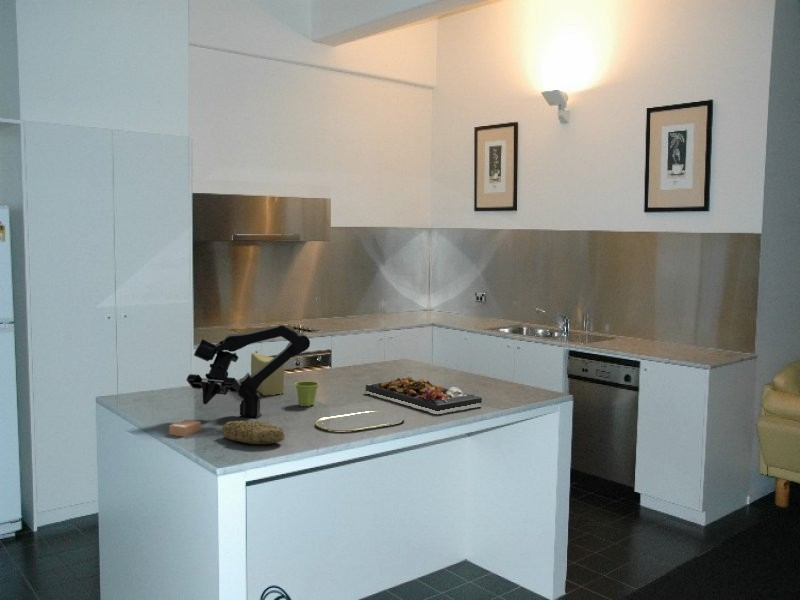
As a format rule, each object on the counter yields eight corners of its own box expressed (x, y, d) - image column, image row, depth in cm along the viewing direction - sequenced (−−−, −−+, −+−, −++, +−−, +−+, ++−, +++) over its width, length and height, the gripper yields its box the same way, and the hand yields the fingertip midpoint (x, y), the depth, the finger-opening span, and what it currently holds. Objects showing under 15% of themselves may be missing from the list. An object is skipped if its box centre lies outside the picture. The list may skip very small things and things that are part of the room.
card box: (186, 419, 251) (169, 425, 243) (201, 421, 249) (184, 427, 241) (185, 428, 252) (169, 434, 243) (200, 430, 250) (184, 436, 241)
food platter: (481, 408, 300) (482, 383, 299) (437, 416, 284) (437, 390, 283) (408, 388, 334) (409, 366, 333) (365, 395, 318) (366, 371, 317)
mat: (165, 429, 251) (165, 427, 251) (198, 424, 259) (198, 422, 259) (185, 440, 239) (185, 438, 239) (219, 434, 247) (219, 433, 247)
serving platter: (305, 424, 265) (306, 420, 265) (385, 413, 286) (385, 409, 286) (333, 437, 250) (333, 432, 250) (415, 424, 271) (415, 419, 271)
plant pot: (300, 408, 287) (301, 386, 286) (290, 403, 294) (290, 382, 294) (322, 406, 292) (322, 384, 291) (311, 401, 300) (312, 380, 299)
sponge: (217, 445, 240) (259, 444, 228) (218, 420, 241) (259, 418, 229) (249, 444, 250) (290, 443, 238) (249, 421, 251) (290, 419, 239)
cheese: (241, 386, 324) (242, 352, 322) (262, 384, 329) (262, 351, 328) (263, 396, 306) (263, 360, 304) (284, 394, 311) (285, 359, 310)
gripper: (251, 380, 269) (236, 417, 260) (206, 376, 275) (190, 413, 266) (240, 363, 261) (224, 401, 252) (194, 359, 266) (177, 396, 257)
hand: (204, 403), depth 257 cm, fingers closed
